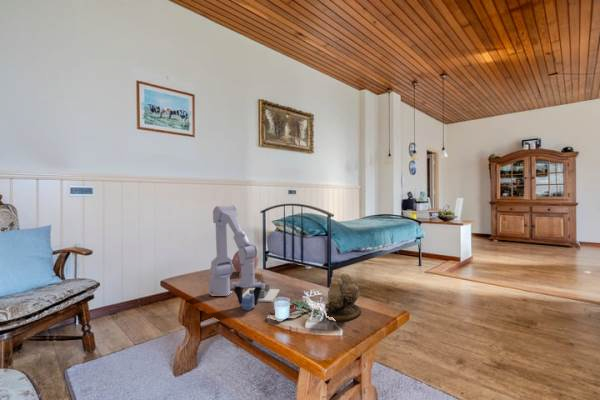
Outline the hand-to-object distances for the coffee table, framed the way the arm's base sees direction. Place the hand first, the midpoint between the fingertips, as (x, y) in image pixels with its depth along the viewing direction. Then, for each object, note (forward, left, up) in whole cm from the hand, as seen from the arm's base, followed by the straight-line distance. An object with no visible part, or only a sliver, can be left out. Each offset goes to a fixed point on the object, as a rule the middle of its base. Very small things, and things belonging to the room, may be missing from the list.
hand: (248, 304), depth 131 cm
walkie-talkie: (+20, -5, -2) cm, 21 cm away
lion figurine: (-7, +29, -2) cm, 30 cm away
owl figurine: (+41, -3, -2) cm, 41 cm away
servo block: (0, 0, -2) cm, 2 cm away
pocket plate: (+1, +15, -1) cm, 15 cm away
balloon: (-20, +52, -2) cm, 56 cm away
